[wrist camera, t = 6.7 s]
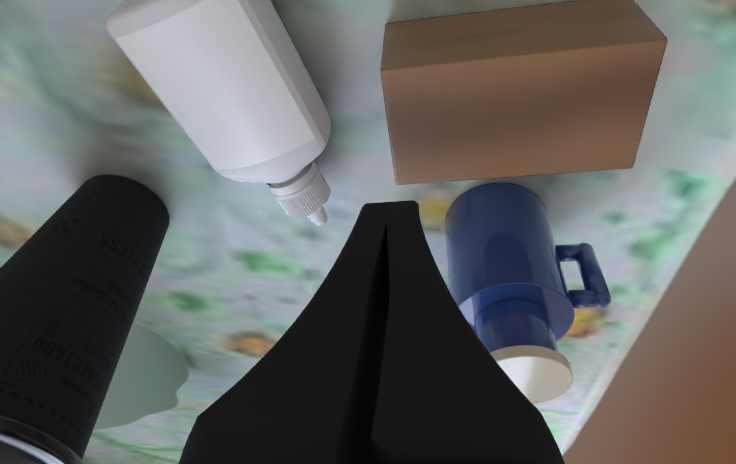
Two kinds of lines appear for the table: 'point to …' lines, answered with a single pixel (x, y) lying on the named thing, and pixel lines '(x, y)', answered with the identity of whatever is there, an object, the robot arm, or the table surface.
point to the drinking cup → (72, 316)
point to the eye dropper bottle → (234, 91)
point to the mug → (518, 284)
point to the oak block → (519, 90)
